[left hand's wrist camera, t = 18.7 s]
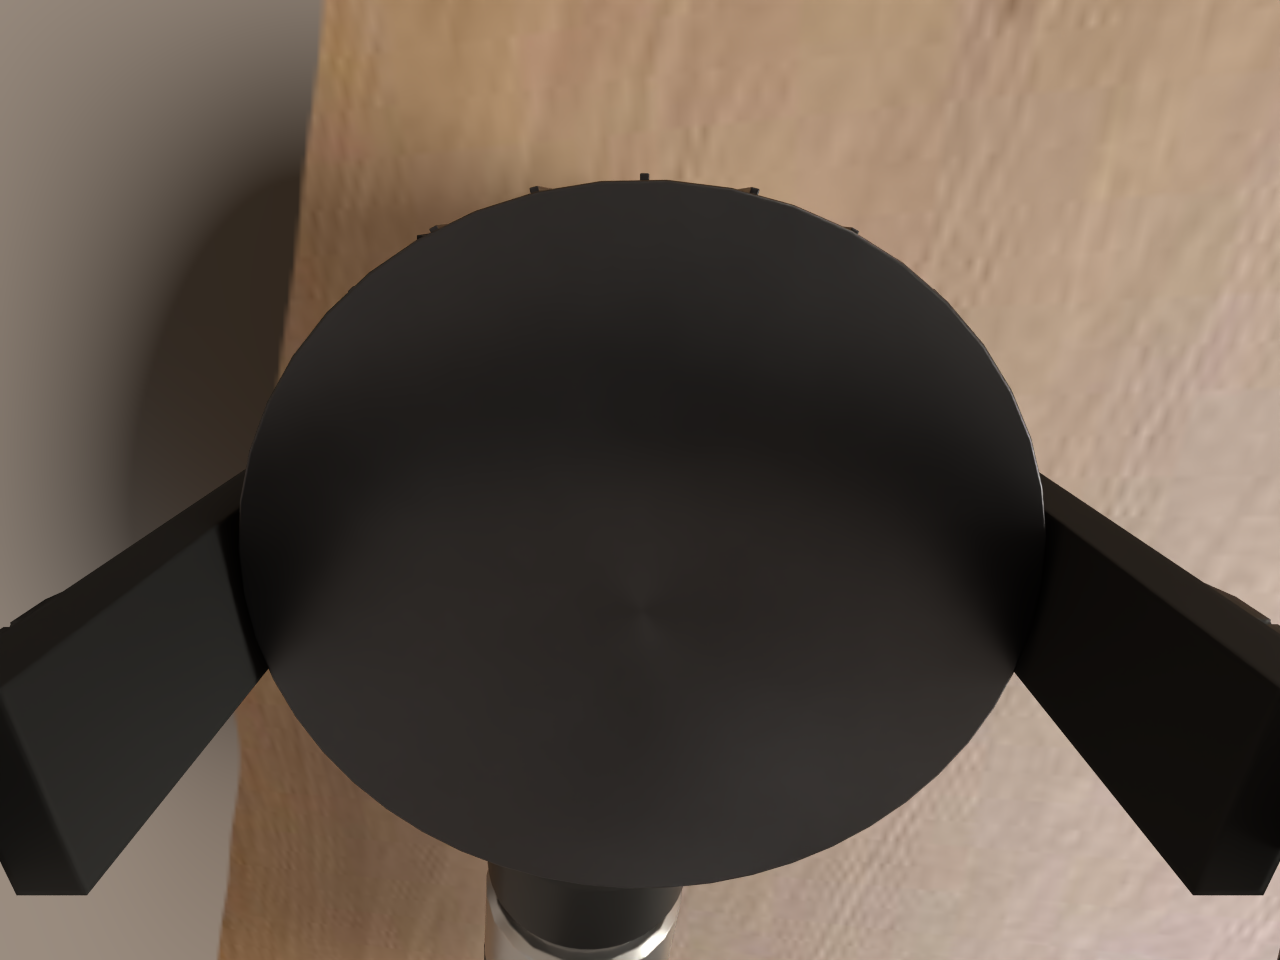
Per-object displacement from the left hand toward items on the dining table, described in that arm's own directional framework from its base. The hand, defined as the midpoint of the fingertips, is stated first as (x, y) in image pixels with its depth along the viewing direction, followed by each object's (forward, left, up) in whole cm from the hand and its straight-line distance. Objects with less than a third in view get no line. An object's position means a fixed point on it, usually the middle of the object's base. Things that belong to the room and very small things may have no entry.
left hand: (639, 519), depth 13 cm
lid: (0, 0, +3) cm, 3 cm away
